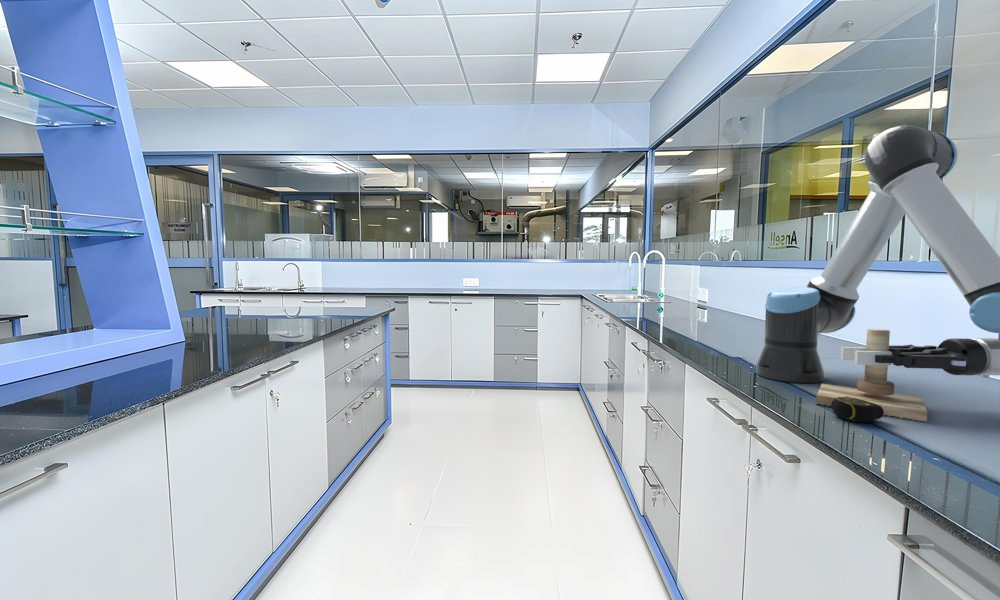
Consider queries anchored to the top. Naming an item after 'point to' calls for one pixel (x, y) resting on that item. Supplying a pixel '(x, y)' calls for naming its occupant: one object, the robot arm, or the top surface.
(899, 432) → the top surface
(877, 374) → the wooden peg with base
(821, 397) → the board
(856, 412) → the tape measure
